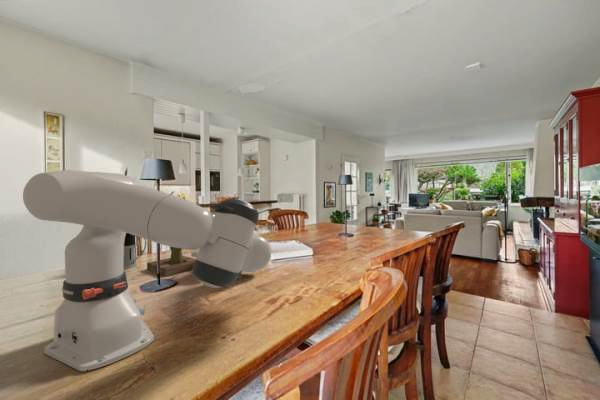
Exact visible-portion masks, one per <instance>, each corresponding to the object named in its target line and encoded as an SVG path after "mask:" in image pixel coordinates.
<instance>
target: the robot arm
mask: <svg viewBox="0 0 600 400" xmlns="http://www.w3.org/2000/svg"><path fill="white" fill-rule="evenodd" d="M22 201H23V204H24V206H25V208H26V209H27V211H28V213H30V214H31V215H32V216H33V217H34V218H36V219H38V220H39V221H40V220H41V221H49V222H57V223H58V222H60V223H69V224H75V225H80V226H82V229H81V230H80V232H79V233H78V234H77V235H76V236H75V237H74V238H72V239H71V240H69V242H68V243H67V244H66V246H65V248H64V270H65V271H64V274H65V275H64V276H65V278H64V280H63V282H62V286H61V287H62V288H61V289H62V290H61V291H62V297H63V298H64V299H63V300H62V303H61V304H60V305H59V306H58V307H57V308H56V309H55V311H54V320H53V323H54V324H53V325H54V326H53V341H52V342H50V343H49V344H47V345H46V346H45V347H44V349H43V353H44V354H45V355H46V356H49V357H51V358H53V359H55V360H57V361H59V362H60V363H63V364H65V365H67V366H69V367H71V368H73V369H75V370H77V371H79V372H87V370H88V371H92V370H95V369H99V368H102V367H105V366H108V365H111V364H113V363H115V362H118V361H120V360H122V359H125V358H126V357H129V356H131V355H133V354H135V353H137V352H139V351H141V350H143V349H144V348H146V347H148V345H150V344H151V343H152V342H154V340H155V336H154V334H153V332H152V331H151V329H150V328H149V327H148V325H147V324H146V323H145V321H144V320H143V319H142V316H144V315H145V312H146V311H145V306H144V305H139V306H138V305H137V304H136V303H137V297H135V296H134V297H133V295H132V293H131V292H130V290H129V285H128V284H129V283H128V277H127V274H126V273H127V272H126V271H125V269H124V241H125V236H126V233H129V234H132V235H135V237H137V238H138V237H140V238H142V239H143V240H144V239H146V241H150V242H153V243H157V244H158V245H159V244H160V245H163V246H166V247H170V246H171V247H175V248H181V249H182V250H190V251H191V250H192V252H191V254H190V255H191V258H193V257H195V259H196V260H194V264H193V270H191V271H192V275H193V277H194V279H197V281H199V283H201V284H202V285H203V286H206V287H209V288H215V289H216V288H217V289H218V288H219V289H220V288H226V287H229V286H231V285H232V284H233V283H235V281H237V279H238V278H242V277H243V275H242V274H241V273H242V272H245V273H255V272H258V271H261V270H262V269H264V268H265V267H266V266H267V265H268V264H269V263H270V261H271V258H272V247H271V245H270V243H269V241H268V240H267V239H266V238H265V237H263V236H262V235H260V234H259V231H258V228H257V227H256V226H258V222H259V218H260V217H259V216H260V215H259V214H260V213H259V212H258V209H257V208H256V207H255V206H254V205H253V204H251V203H250V202H249V201H246V200H244V199H240V198H227V199H224V200H220V201H219V202H218V203H212V204H211V205H210V209H213V211H209V210H208V209H206V208H205V207H202V206H200V205H199V204H197V203H195V202H192V201H190V200H188V199H186V198H183V197H180V196H177V195H174V194H171V193H168V192H164V191H161V190H158V189H154V188H152V187H148V186H145V185H143V184H142V182H141V181H139V179H137V178H134V177H131V176H128V175H125V174H121V173H114V172H113V173H112V172H101V171H100V172H98V171H84V170H83V171H82V170H71V169H70V170H69V169H68V170H67V169H65V170H64V169H63V170H55V171H54V170H53V171H47V172H40V173H37V174H35V175H33V176H31V178H30V179H29V180H28V181H27V182H26V184H25V185H24V187H23V192H22ZM193 250H194V251H193ZM195 250H198V251H195Z"/></svg>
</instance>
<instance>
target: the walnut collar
mask: <svg viewBox="0 0 600 400" xmlns="http://www.w3.org/2000/svg"><path fill="white" fill-rule="evenodd" d="M182 257H183V263H179V264H174V265H170V258H171V257H167V258H162V259H159V260H160V274H159V275H161V276H164V277H171V276H174V275H179V274H182V273H185V272H191V271H192V270H193V264H194V260H196V259H197V258H193V257H189V256H185V255H182ZM146 269H147V271H150V272H153V273H156V274H158V273H157V260H153V261H150V262H147V263H146Z"/></svg>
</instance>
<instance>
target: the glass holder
mask: <svg viewBox="0 0 600 400" xmlns="http://www.w3.org/2000/svg"><path fill="white" fill-rule="evenodd" d="M140 238H141V237H138V236H137V238H136V236H135V235H132V234H129V233H126V236H125V241H124V270H128V269H133V268H136V267H137V266H138V263H137V259H139V258H140V257H141V256H142V255H143V254H144V253H145V251H146V248H147V239H144V238H143V240H144V248H143V250H142V252H141V253H140V254H139V255H138V256H137V246H138V244H139V240H140Z"/></svg>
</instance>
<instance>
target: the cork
mask: <svg viewBox="0 0 600 400" xmlns="http://www.w3.org/2000/svg"><path fill="white" fill-rule="evenodd" d="M169 250H170V252H171V253H170V257H169V258H170V265H174V264H179V263H183V257H182V256H183V249H181V248H175V247H171V246H169Z"/></svg>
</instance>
